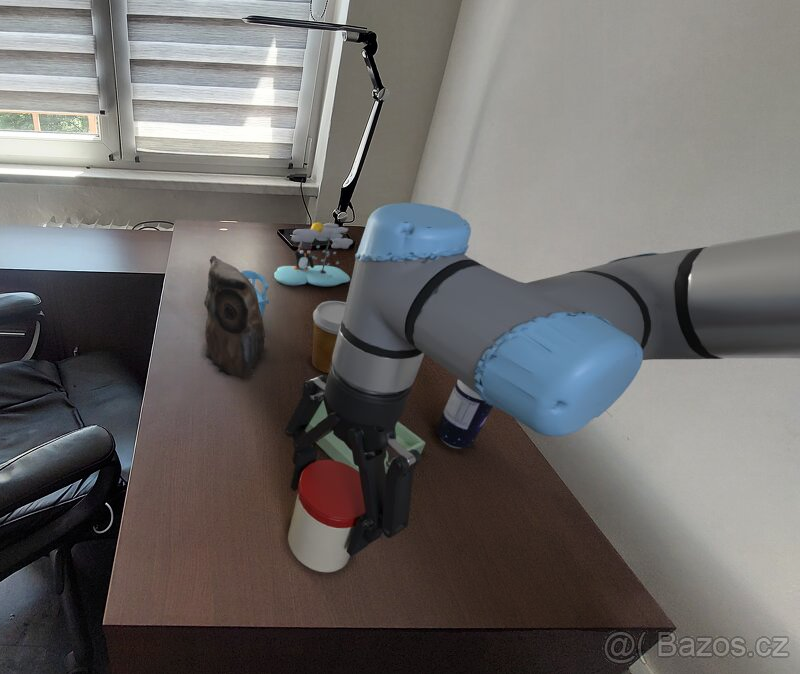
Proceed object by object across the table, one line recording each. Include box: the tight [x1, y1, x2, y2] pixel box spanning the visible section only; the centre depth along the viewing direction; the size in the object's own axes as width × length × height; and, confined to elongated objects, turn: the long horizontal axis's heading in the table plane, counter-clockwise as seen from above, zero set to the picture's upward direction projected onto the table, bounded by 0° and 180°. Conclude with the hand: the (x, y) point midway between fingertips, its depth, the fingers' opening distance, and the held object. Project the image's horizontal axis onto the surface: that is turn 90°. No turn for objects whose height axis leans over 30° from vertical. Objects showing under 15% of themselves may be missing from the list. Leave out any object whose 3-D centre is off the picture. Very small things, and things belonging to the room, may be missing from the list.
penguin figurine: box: [273, 221, 354, 288], centre depth 117 cm, size 20×11×15 cm, turn 91°
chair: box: [240, 270, 270, 320], centre depth 99 cm, size 8×8×12 cm
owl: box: [204, 255, 266, 381], centre depth 86 cm, size 13×13×20 cm
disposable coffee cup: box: [311, 300, 346, 374], centre depth 88 cm, size 10×10×12 cm
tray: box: [305, 401, 426, 473], centre depth 74 cm, size 15×13×2 cm
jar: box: [287, 493, 356, 573], centre depth 56 cm, size 8×8×10 cm
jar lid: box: [296, 459, 366, 528], centre depth 53 cm, size 8×8×2 cm
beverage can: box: [435, 379, 494, 449], centre depth 72 cm, size 6×6×12 cm
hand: (326, 514), depth 56 cm, fingers open, 9 cm apart
